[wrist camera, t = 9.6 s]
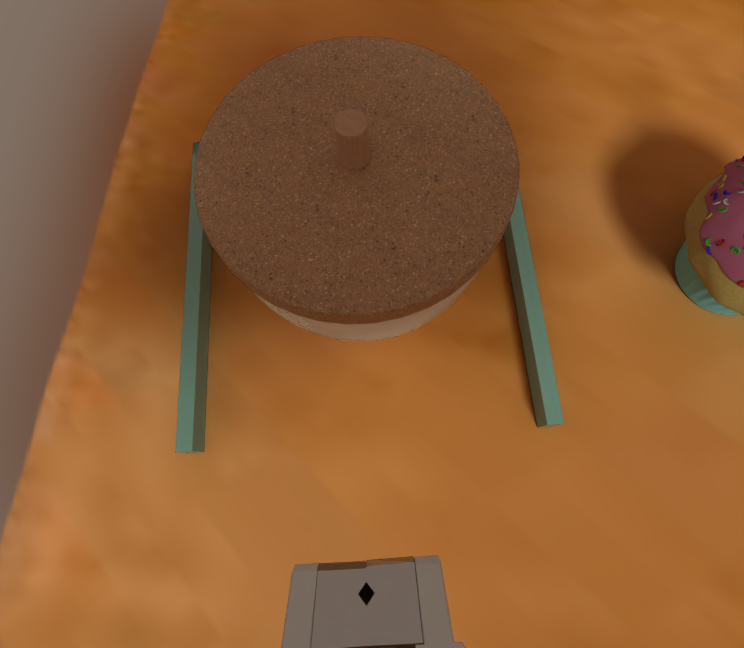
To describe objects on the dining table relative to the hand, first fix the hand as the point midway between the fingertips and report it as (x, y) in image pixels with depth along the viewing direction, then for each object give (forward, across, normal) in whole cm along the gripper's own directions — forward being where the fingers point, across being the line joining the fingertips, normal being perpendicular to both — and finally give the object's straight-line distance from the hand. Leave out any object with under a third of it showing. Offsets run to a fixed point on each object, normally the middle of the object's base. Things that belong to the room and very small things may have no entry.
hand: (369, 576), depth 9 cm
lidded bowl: (+19, 0, 0) cm, 19 cm away
